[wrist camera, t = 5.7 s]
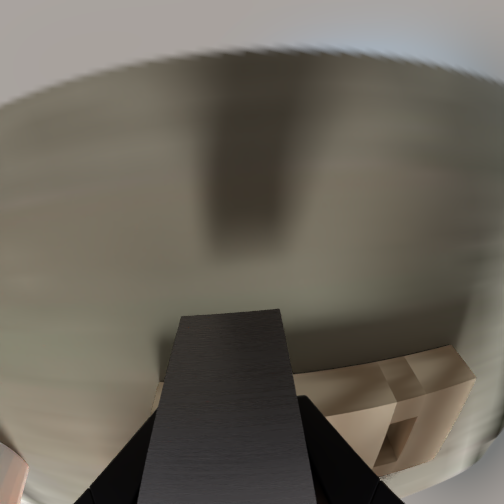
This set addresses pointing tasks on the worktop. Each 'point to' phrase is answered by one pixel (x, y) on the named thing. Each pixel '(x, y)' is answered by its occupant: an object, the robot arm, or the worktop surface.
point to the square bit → (228, 417)
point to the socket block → (390, 405)
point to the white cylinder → (11, 475)
